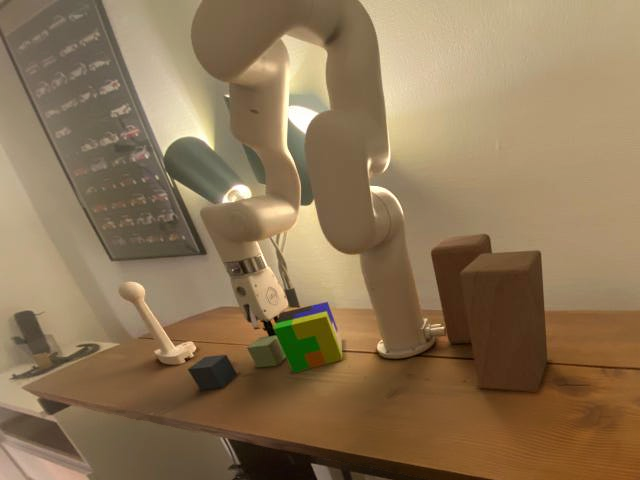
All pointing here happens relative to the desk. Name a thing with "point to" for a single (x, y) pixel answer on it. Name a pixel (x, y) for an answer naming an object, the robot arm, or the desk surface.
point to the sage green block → (266, 351)
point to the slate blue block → (212, 372)
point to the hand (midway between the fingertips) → (281, 343)
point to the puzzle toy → (309, 336)
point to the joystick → (156, 327)
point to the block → (456, 279)
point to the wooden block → (506, 319)
